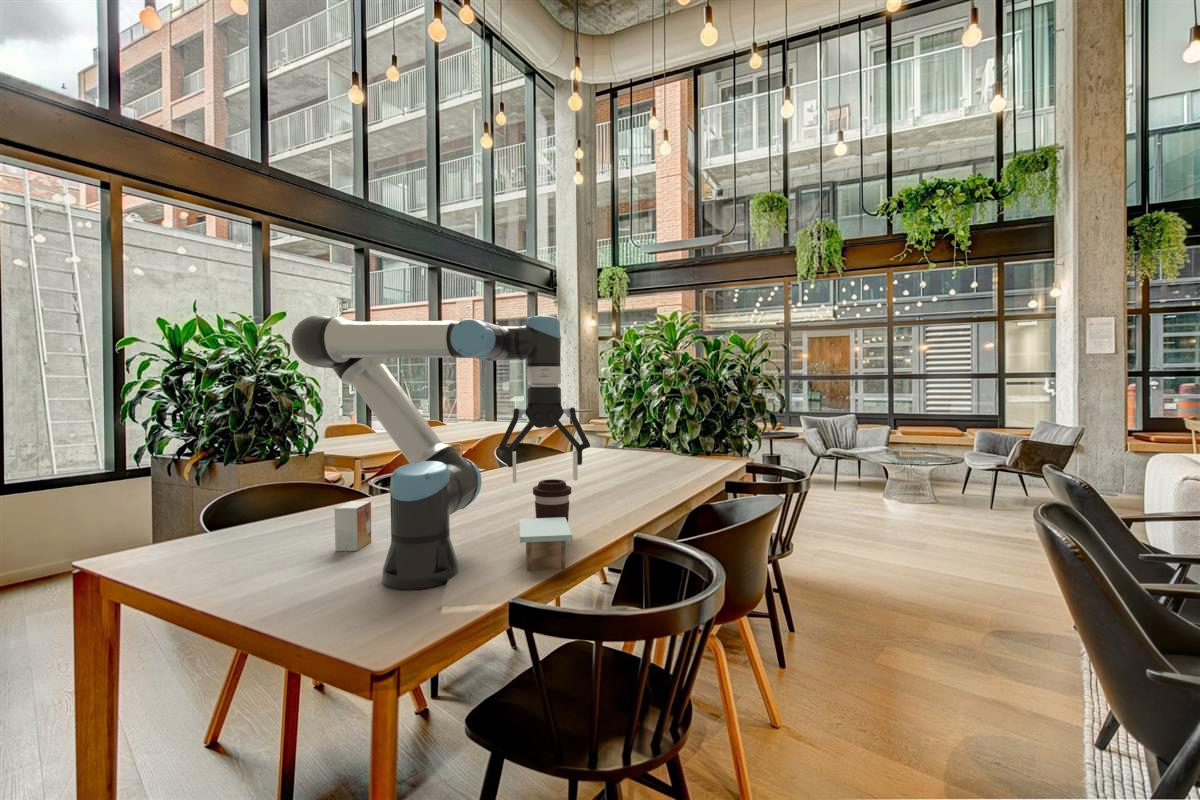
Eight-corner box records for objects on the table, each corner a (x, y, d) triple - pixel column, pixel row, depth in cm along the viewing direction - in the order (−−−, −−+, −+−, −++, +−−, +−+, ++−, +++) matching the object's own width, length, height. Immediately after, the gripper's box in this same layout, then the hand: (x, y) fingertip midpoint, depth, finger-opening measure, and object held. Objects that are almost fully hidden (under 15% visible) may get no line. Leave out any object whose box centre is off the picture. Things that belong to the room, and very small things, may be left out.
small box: (357, 551, 130) (356, 508, 130) (334, 551, 130) (333, 508, 130) (372, 541, 138) (371, 500, 138) (350, 541, 139) (349, 500, 138)
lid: (520, 546, 114) (520, 537, 114) (519, 527, 129) (519, 519, 129) (571, 544, 116) (571, 534, 116) (565, 525, 131) (565, 517, 131)
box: (527, 574, 115) (527, 541, 115) (525, 553, 129) (525, 524, 129) (564, 572, 117) (564, 540, 116) (559, 551, 130) (559, 522, 130)
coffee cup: (553, 547, 134) (553, 486, 134) (525, 539, 140) (524, 482, 140) (579, 537, 142) (579, 480, 141) (551, 531, 148) (550, 476, 147)
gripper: (486, 386, 116) (487, 485, 116) (601, 385, 120) (602, 481, 120) (488, 386, 123) (489, 479, 124) (596, 385, 127) (597, 475, 128)
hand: (545, 480), depth 122 cm, fingers open, 13 cm apart
